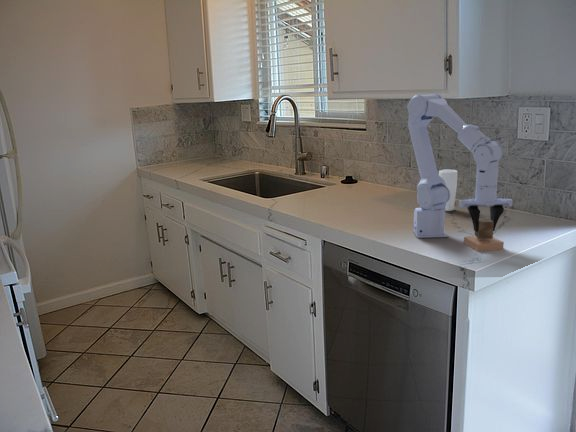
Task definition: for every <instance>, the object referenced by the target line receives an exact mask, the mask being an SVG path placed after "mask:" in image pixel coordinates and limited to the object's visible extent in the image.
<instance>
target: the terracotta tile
mask: <svg viewBox="0 0 576 432" xmlns="http://www.w3.org/2000/svg"><path fill="white" fill-rule="evenodd" d="M463 244H464V245H466V246H467V247H469V248H470V249H472V250H474V251H476V252H485V251H487V252H488V251H495V250H496V251H497V250H504V241H502V240H501V239H498V238H497V237H495V236H493V239H478V238H477V237H476V236H475V235H469V236H464V237H463Z"/></svg>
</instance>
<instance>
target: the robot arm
mask: <svg viewBox="0 0 576 432" xmlns="http://www.w3.org/2000/svg"><path fill="white" fill-rule="evenodd" d="M406 108H407V111H408V118H407V119H408V121H407V128H408V131H409V132H408V133H409V136H410V140H411V144H412V148H413V152H414V157H415V160H416V164H417V169H418V173H419V177H420V180H419V181H418V184H417V185H416V191H417V193H416V194H417V195H416V200H417V203H418V205H419V206H420V207H416V208H414V211H413V230H412V231H413V233H414V234H415V236H416V238H417V239H422V238H447V237H449V235H448V234H447V233H446V231H445V223H446V221H445V220H446V211H445V206H446V203H447V202H448V201H449V199H450V191H449V189H448V187H447V186H446V184H445V181H444V179H442V178H441V177H440V176H439V170H438V167H437V163H436V159H435V156H434V150H433V148H432V143H431V139H430V134H429V131H428V126H429V124H430V123H431V121H433V120H434V118H439V119H440V120H441V121H443V122H444V123H445V124H446V125H448V126H449V127H450V128H451V129H452V130H454V131H455V132H456V133H457V139H458V140H459V142H461V144H462V145H464V147H466V148H467V150H469V151H470V152H471V153H472V157H473V160H474V161H475V164H476V165H475V167H476V174H475V175H476V176H475V197H474V198H466V199H459V201H458V207H459V208H460V209H461V208H463V209H464V208H467V211H468V212H469V215H470V218H471V222H472V224H473V225H472V226H473V231H474V233H475V232H478V228H479V219H480V215H481V210H480V209H479V208H480V207H481V208H482V207H484V208H485V207H486V208H487V207H489V212H490V219H491V220H492V221H493V222H494V226H493V232H495V231H496V226H497V224H498V221H499V219H500V217H501V215H502V214H503V213H504V211H505V208H504V207H513V199H511V198H499V197H498V196H497V195H498V193H497V192H498V178H499V177H498V176H499V163H500V162H499V161H500V160H501V159H502V157H503V155H504V149H503V146H502V145H501V144H500V142H498V141H493V140H492V139H491V138H490V137H489V136H488V137H487V136H486V135H485V134H484V133H483V132H481V130H480V127H479V126H478V125H474V124H473V123H472V124H467V123H466V122H465V121H464V120H463V119H462V118H461V117H460V116H459V115H458V113H456V111H454V110H453V108H452V107H451V106H450V105H449V104H448V102H447V100H446V99H445V98H443V97H442V95H441V94H438V93H431V94H415V95H413V96H412V97H411V98H410V100H409V101H408V103H407V106H406ZM497 197H498V198H497Z"/></svg>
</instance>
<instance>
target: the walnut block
mask: <svg viewBox="0 0 576 432" xmlns="http://www.w3.org/2000/svg"><path fill="white" fill-rule="evenodd" d="M493 226H494V222H493V221H492V220H491V219H490V218H479V228H478V232H475V231H474V236H476V237H477V238H478V239H493V237H494V231H493Z"/></svg>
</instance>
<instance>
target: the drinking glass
mask: <svg viewBox="0 0 576 432" xmlns="http://www.w3.org/2000/svg"><path fill="white" fill-rule="evenodd" d="M438 175H439V176H440V177H441V178H442V179H444V181H445V184H446V186H447V187H448V189H449V191H450V199H449V201H448V202H447V203H446V206H445V212H452V211H454V210H455V204H456V195H457V186H458V170H456V169H448V168H447V169H440V170H438Z"/></svg>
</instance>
